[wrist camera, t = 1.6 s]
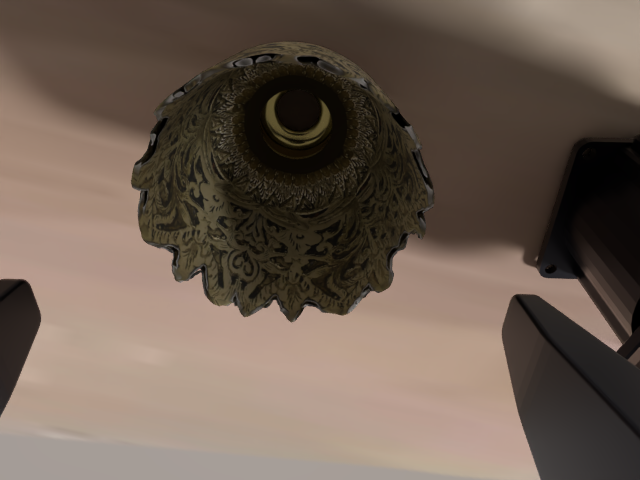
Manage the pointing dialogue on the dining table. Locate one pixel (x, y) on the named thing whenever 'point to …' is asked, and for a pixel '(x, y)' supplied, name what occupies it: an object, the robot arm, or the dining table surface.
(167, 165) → the cup
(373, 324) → the dining table surface
